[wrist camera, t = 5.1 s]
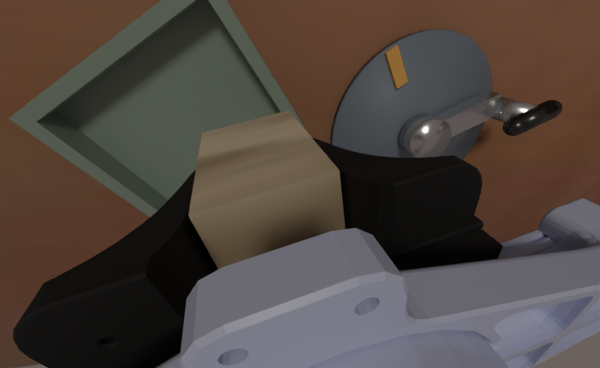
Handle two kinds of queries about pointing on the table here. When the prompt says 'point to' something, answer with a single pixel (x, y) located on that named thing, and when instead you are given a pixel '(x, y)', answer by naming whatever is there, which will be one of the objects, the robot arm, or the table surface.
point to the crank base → (411, 92)
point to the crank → (472, 121)
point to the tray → (155, 99)
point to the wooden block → (263, 189)
